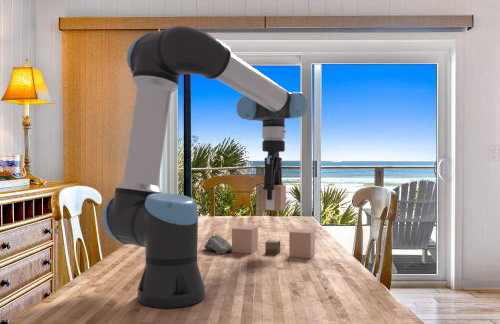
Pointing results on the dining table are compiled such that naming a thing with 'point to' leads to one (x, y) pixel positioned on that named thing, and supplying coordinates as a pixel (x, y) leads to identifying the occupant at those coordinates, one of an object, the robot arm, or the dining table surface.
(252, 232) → the peach colored cube
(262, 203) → the cover mid
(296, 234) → the salmon pink box
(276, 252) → the letter cube
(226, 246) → the fossilized seashell
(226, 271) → the dining table surface
